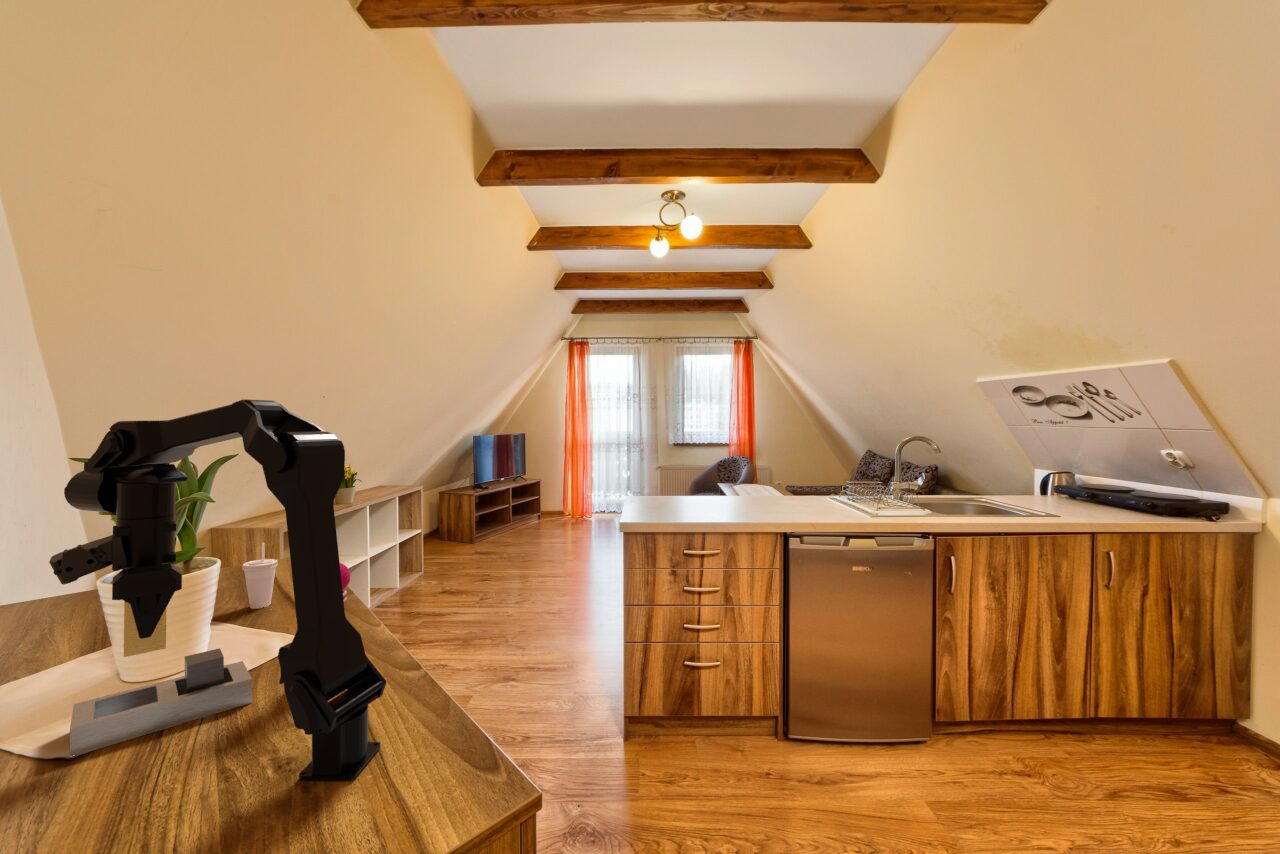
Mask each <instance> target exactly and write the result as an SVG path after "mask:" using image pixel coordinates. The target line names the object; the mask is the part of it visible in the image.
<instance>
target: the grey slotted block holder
mask: <svg viewBox="0 0 1280 854" xmlns="http://www.w3.org/2000/svg"><path fill="white" fill-rule="evenodd" d="M224 659H225V658H224V654H223V652H222V649H221V648H216V649H211V650H207V651H202V652H199V653H193V654H191V655H190V654H189V655H186V656H184V675H181V676H179V677H175V678H170V679H167V680H162V681H158V682H155V683H151V684H147V685H144V686H139V687H135V688H131V689H127V690H123V691H119V692H115V693H112V694H107V695H103V696H99V697H96V698H92V699H88V700H83V701H80V702H76V703H73V706H72V713H71V719H70V727H69V757H70V756H73V755H76V756H80V755H83V754H87V753H90V752H93V751H97V750H99V749H103V748H106V747H109V746H113V745H116V744H120V743H123V742H126V741H127V742H128V741H129V740H133V739H136V738H139V737H142V736H146V735H149V734H152V733H156V732H159V731H163V730H167V729H169V728H172V727H176V726H180V725H182V724H186V723H189V722H192V721H196V720H199V719H203V718H206V717H210V716H212V715H216V714H218V713H223V712H225V711H228V710H229V711H230V710H232V709H236V708H239V707H242V706H246V705H249V704H251V703H253V677H252V676H251V675H250V672H249V670H248V669H247V666H246V665H245V663H244V661H243V660H242V661H237V662H233V663H229V664H226V665H225V661H224ZM76 756H75V757H76Z"/></svg>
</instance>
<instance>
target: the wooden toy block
mask: <svg viewBox="0 0 1280 854" xmlns="http://www.w3.org/2000/svg"><path fill="white" fill-rule="evenodd" d="M123 601H124V600H123ZM123 603H124V605H123V606H124V607H123V615H124V616H123V658H127V657H130V656H135V655H137V656H138V655H141V654H146V653H150V652H155V651H160V650H164V649H165V650H166V649H167V608H166V609H165V611H164V613H163V615H162V617H161V619H160V620H159V622H158V624H157V626H156V628H155V630H154V632H153V634H152V636H151V637H148V638H143V639H140V638H139V634H138V630H137V627H136V623H135V619H134V616H133V612H132V609H131V605H130V604H129V603H128V602H126V601H124V602H123Z"/></svg>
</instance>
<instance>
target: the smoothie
mask: <svg viewBox="0 0 1280 854" xmlns="http://www.w3.org/2000/svg"><path fill="white" fill-rule="evenodd" d="M265 546H266V545H265V542H264V541H263V542H261V559H256V560H255V559H254V560H251V561H247V562H244V563H242V570H243V571H244V577H245V583H246V591H247V596H248V603H249V608H250V609H252V610H256V609H257V610H258V609H263V607H264V608H267V607H269V605H270V604H271V603H272V596H273V589H274V583H275V582H274V581H275V577H276V576H275V575H276V567H277V566H279V565H278V560H277V559H275V558H265V556H266V555H265ZM270 606H271V605H270Z"/></svg>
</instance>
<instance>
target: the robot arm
mask: <svg viewBox="0 0 1280 854" xmlns="http://www.w3.org/2000/svg"><path fill="white" fill-rule="evenodd" d="M239 438H242V445H243V449H244V452H246V453H247V454H248V455H249V456H250V457H251V458H253V460H255V461H256V462H257V463H259V465H260V466H261V467H262V470H263V476H264V480H265V483H266V486H267V489H268V490H269V492H271V493H272V494H273V496H274V497H275V498H276V499H277V500H278V502H279V503H280V504H281V506H283V508H284V511H285V519H286V528H287V539H288V546H289V547H288V548H289V557H290V559H289V560H290V568H291V579H292V586H293V589H292V590H293V597H294V607H295V615H296V616H295V617H296V626H297V627H296V632H295V634H294V636H293V639H292V641H291V642H289V643H287V644H285V645H282V646H281V647H279V649H278V653H277V660H278V663H279V664H278V665H279V667H280V677H279V682H278V683H279V685H282V684H283V690H284V694H285V696H286V699H287V703H288V707H289V709H290V712H291V716H292V717H291V718H292V720H293V724H294V727H295V728H296V729H297V730H303V732H304V735H306V736H307V735H308V736H311V761H310V762H309V763H308V764H307V765H306V766H305V767H304V768H303V769H302V770H301V771H300V772H299V773H298V780H299V781H353V780H355V779H356V778H357V776H358V775H359V774H361V771H362V770H363V769H364V768H365V767H366V765H367V764H368V763H369V762H370V760H371V759H372V758H373V757H374V756H375V755H376V754H377V752H378V751H379V749H381V742H380V741H369V705H370V704H371V703H373V702H374V701H376V700H377V699H379V698H382V697H383V695H384V692H385V688H386V686H387V680H386V679H385V678H384V676H383V675H382V674H381V673H380V672H379V670H378V669H377V667H376V666H375V664H373V662H372V661H371V660H370V658H368V656H367V654H366V650H365V648H364V644H363V639H362V635H361V633H360V631H358V630H357V629H356V627H355V626H354V625H353V624H352V623H351V622H350V621H349V620H348V618H347V616H346V612H345V610H346V609H345V602H344V601H343V591H342V581H341V572H340V563H341V562H340V554H339V544H338V535H337V526H336V516H335V515H336V514H335V507H334V506H335V505H334V504H335V503H334V502H335V499H336V497H337V494H338V492H339V490H340V487H341V485H342V483H343V482H344V479H345V467H346V466H345V465H346V464H345V462H346V450H345V446H344V445H345V444H344V442H343V441H342V440H341V438H338V437H337V436H336V435H335V434H334V433H331V432H329V431H326V430H324V429H323V428H322V427H320V426H319V425H318V424H316V423H314V422H312V421H310V420H308V419H305V418H304V417H301V416H299V415H297V414H295V413H293V412H291V411H290V410H289V409H288V408H286V407H285V406H284V405H282V404H281V403H279V402H276V401H275V400H268V399H267V400H264V399H247V398H246V399H240V400H238V401H234V402H233V403H231V404H228V405H224V406H223V405H222V406H220V407H216V408H211V409H208V410H202V411H200V412H196V413H191V414H187V415H183V416H180V417H176V418H172V419H169V420H168V419H167V420H166V419H165V420H119V421H116V422H114V423H113V424H112V425H111V426H110V427H109V431H108V432H106V433H105V435H104V437H103V438H102V440H101V442H100V443H99V445H98V446H97V449H96V450H95V452H94V453H92V455H91V457H90V458H88V460H87V461H84V462H83V470H81V471H79V472H77V473H76V474H75V475H74V476H72V477H71V478H70V479H69V481H68V482H67V483H66V486H65V487H64V490H63V494H64V498H65V500H66V502H67V503H68V504H69V505H70V506H71V507H73V508H75V509H77V510H79V511H80V510H81V511H88V512H99V513H110V514H111V513H112V514H115V515H116V520H115V521H116V523H115V524H116V525H113V526H112V535H108V536H106V537H102V538H99V539H95V540H93V541H89V542H87V543H86V542H85V543H84V544H78V545H77V546H75V547H73V548H70V549H64V550H63V551H61V552H58V553H56V554H54V555H52V556H51V557H50V558H49V559H50V560H49V561H48V562H49V565H50V567H51V569H52V570H53V574H54V575H55V576H56V577H57V578H58V581H59V582H60V584H61V585H67V584H70V583H73V582H77V580H79V578H82V577H85V576H87V575H90V574H92V573H95V572H97V571H98V572H99V571H101V570H103V569H106V568H107V567H110V566H111V567H112V568H111V570H112V571H113V572H117V571H119V572H118V573H117V574H115V575H114V576H112V581H111V583H112V585H111V586H112V587H111V590H112V591H111V593H112V594H111V595H112V596H111V600H113V601H126V602H128V603H129V604H130V605H131V609H132V612H133V616H134V619H135V623H136V627H137V630H138V634H139V638H140V639H143V638H148V637H151V636H152V634H153V632H154V630H155V628H156V626H157V624H158V622H159V620H160V619H161V617H162V615H163V613H164V611H165V609H166V610H167V607H168V606H169V603H170V601H172V598H173V596H174V594H175V592H177V591H181V590H182V588H183V584H182V583H183V574H182V571H181V569H180V568H179V567H178V566H176V565H175V564H174V563H175V562H176V560H177V554H176V551H175V549H176V548H175V546H176V545H175V543H176V542H175V541H176V531H177V522H176V490H177V489H176V484H177V483H182V482H183V483H184V482H186V481H188V476H187V475H186V474H185V473H184V472H183V471H181V470H179V468H177V467H176V465H175V464H174V463H176V462H179V461H182V460H183V459H185V458H188V457H189V456H192V455H193V453H194V452H195V450H196V449H199V448H200V447H204V446H208V445H213V444H217V443H221V442H226V441H230V440H234V439H239Z"/></svg>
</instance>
